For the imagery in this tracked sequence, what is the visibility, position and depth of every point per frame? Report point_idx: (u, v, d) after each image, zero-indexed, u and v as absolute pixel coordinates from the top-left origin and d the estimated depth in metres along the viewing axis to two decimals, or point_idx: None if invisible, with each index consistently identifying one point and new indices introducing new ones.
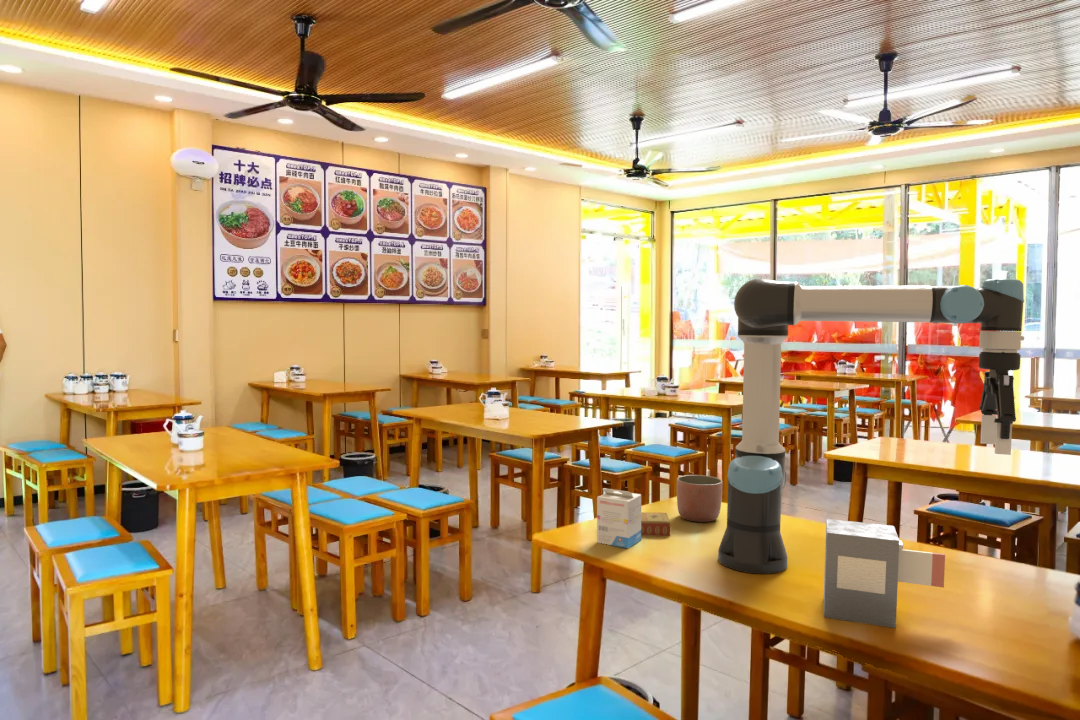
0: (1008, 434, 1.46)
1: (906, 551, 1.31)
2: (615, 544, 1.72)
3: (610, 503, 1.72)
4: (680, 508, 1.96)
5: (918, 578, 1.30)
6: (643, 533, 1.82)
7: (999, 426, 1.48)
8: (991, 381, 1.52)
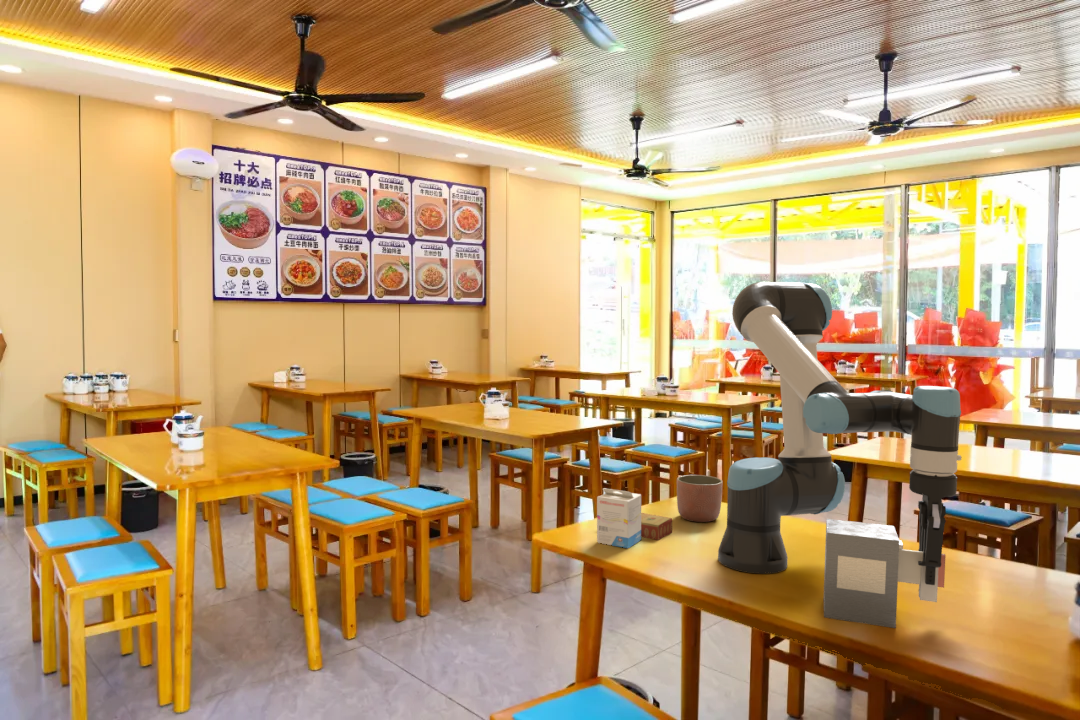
0: (933, 580, 1.28)
1: (906, 551, 1.31)
2: (615, 544, 1.72)
3: (610, 503, 1.72)
4: (680, 508, 1.96)
5: (918, 578, 1.30)
6: None
7: (924, 569, 1.29)
8: (922, 511, 1.28)
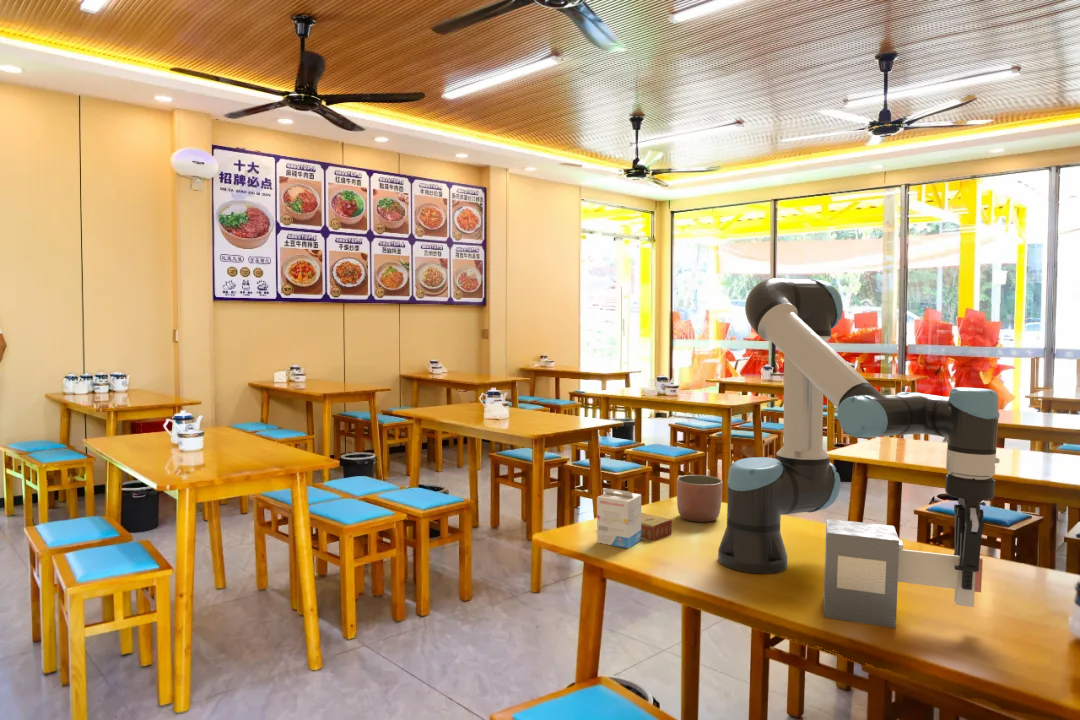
0: (970, 584, 1.26)
1: (942, 555, 1.29)
2: (615, 544, 1.72)
3: (610, 503, 1.72)
4: (680, 508, 1.96)
5: (954, 583, 1.28)
6: None
7: (960, 573, 1.27)
8: (959, 514, 1.26)
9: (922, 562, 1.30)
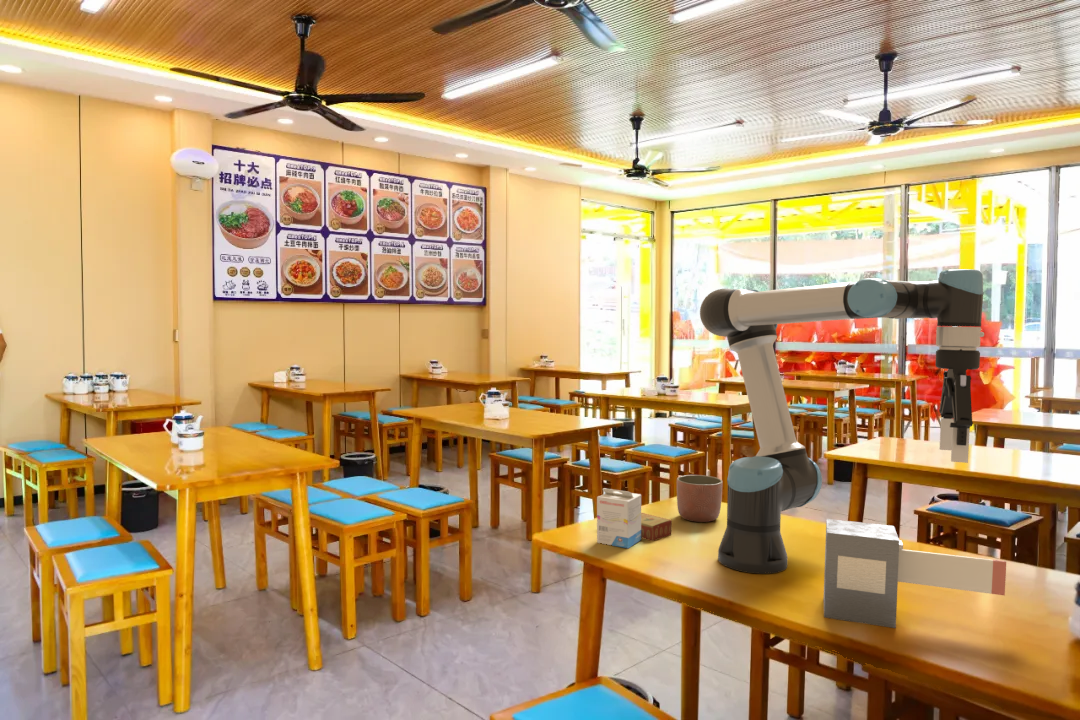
0: (965, 440, 1.33)
1: (965, 558, 1.28)
2: (615, 544, 1.72)
3: (610, 503, 1.72)
4: (680, 508, 1.96)
5: (978, 586, 1.27)
6: None
7: (955, 431, 1.34)
8: (948, 381, 1.39)
9: (944, 565, 1.29)
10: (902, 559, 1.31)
